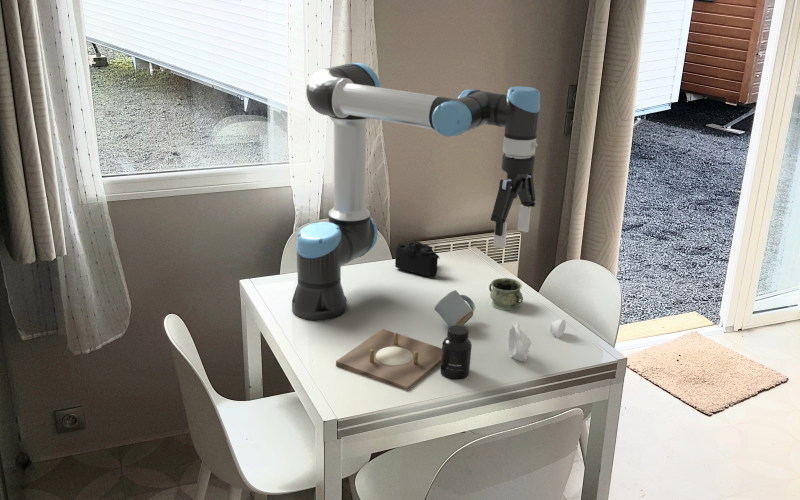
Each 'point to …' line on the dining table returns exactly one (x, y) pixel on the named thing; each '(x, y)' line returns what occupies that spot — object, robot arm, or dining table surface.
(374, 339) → the pin board
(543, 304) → the dining table surface
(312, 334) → the dining table surface
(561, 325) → the white irregular lump
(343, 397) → the dining table surface
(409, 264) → the film camera
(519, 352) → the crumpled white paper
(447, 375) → the supplement bottle
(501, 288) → the vessel
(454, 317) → the ceramic mug
